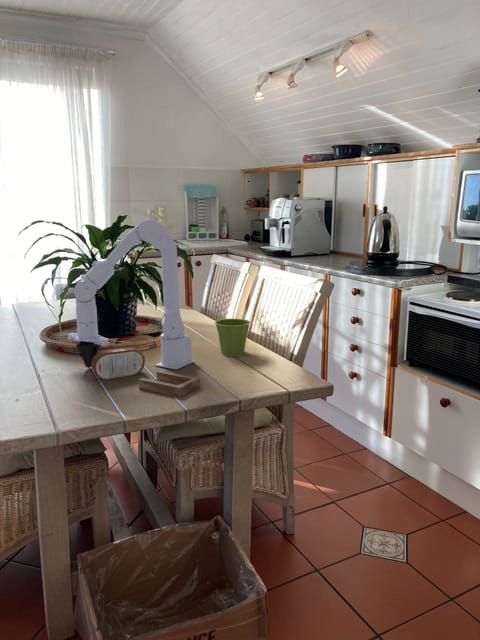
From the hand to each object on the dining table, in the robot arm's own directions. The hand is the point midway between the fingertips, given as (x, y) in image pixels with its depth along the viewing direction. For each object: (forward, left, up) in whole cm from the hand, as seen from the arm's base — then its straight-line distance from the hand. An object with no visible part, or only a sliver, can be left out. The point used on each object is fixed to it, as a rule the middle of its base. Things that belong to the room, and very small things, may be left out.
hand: (89, 366), depth 155 cm
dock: (0, +29, -1) cm, 29 cm away
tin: (0, +12, -2) cm, 12 cm away
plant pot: (-36, +28, -2) cm, 45 cm away
